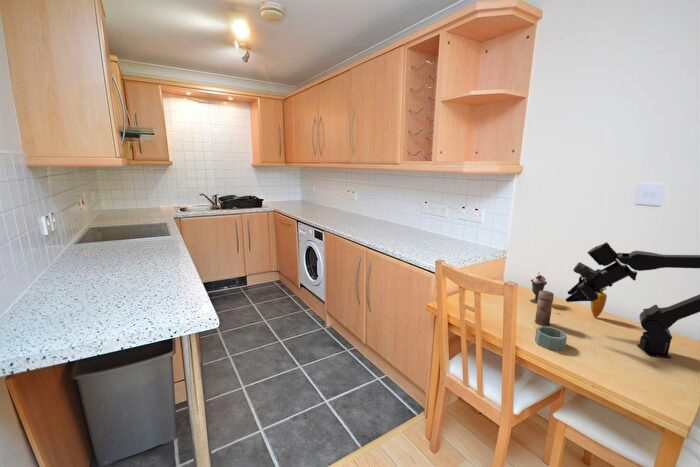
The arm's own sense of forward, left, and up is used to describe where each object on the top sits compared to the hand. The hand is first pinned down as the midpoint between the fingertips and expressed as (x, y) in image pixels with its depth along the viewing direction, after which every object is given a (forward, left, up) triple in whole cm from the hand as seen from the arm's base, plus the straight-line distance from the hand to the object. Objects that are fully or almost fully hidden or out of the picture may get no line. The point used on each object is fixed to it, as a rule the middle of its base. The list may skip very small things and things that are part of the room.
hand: (567, 297), depth 121 cm
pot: (+9, +14, -13) cm, 21 cm away
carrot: (-18, -14, -13) cm, 26 cm away
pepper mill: (+6, -3, -13) cm, 15 cm away
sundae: (+1, -26, -13) cm, 29 cm away
